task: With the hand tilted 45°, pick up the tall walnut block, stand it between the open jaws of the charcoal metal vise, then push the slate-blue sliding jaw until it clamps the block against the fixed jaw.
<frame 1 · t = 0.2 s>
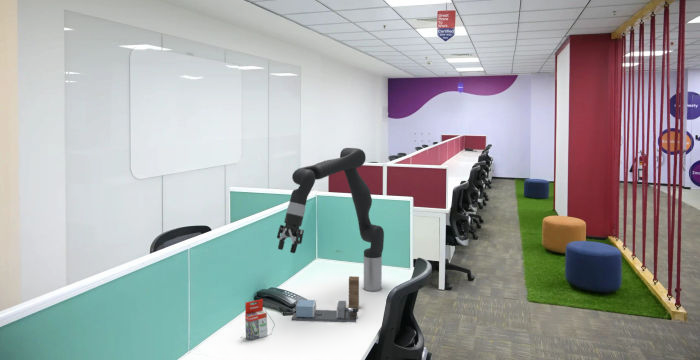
hand: (286, 251, 214), 31 cm above the table, tool tilted 20°, fingers open, 8 cm apart
ink box: (256, 337, 201), on the table
sliding jaw: (306, 308, 221), point 4 cm above the table, slide at 0.0 cm
walnut block: (353, 307, 232), on the table
vise: (325, 316, 221), on the table
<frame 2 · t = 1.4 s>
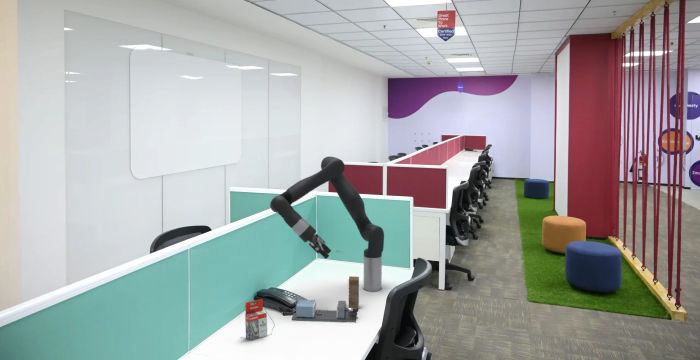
hand: (328, 254, 230), 25 cm above the table, tool tilted 45°, fingers open, 8 cm apart
nothing on the table moved.
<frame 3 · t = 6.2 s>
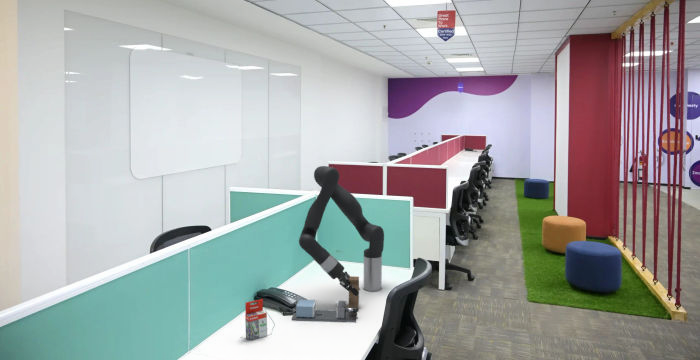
hand: (357, 292, 231), 7 cm above the table, tool tilted 45°, fingers closed on walnut block, 4 cm apart
walnut block: (353, 307, 232), on the table, touching gripper
everything else where it was.
when the fingers open (9 cm above the table, at t = 12.0 s): walnut block drops 1 cm, resting on vise.
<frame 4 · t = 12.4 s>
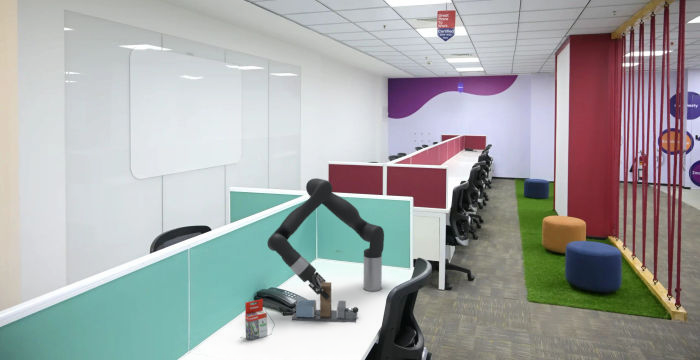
hand: (329, 294, 220), 10 cm above the table, tool tilted 45°, fingers open, 7 cm apart
walnut block: (325, 314, 221), point 1 cm above the table, touching vise
everything else where it was.
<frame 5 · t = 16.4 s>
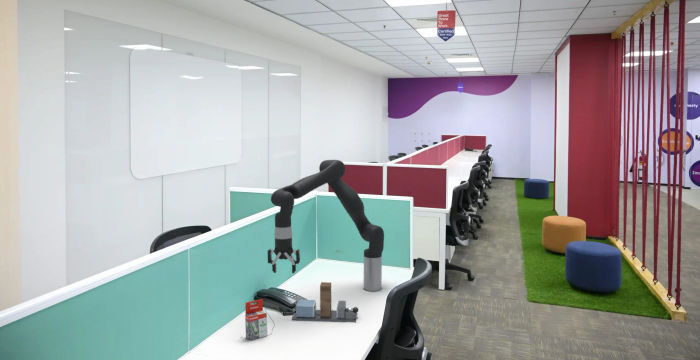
hand: (284, 272, 220), 20 cm above the table, tool pointing down, fingers open, 7 cm apart
nothing on the table moved.
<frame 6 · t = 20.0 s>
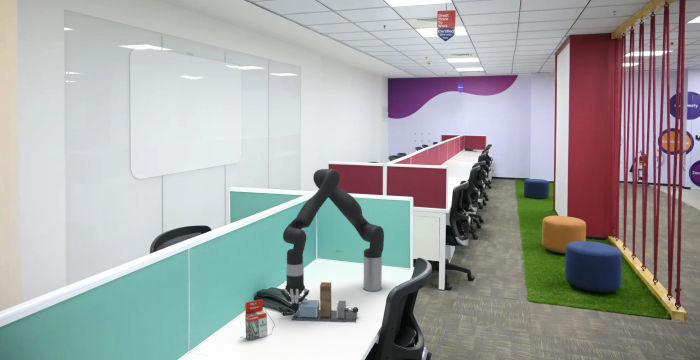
hand: (295, 310, 222), 2 cm above the table, tool pointing down, fingers closed
sliding jaw: (309, 308, 221), point 4 cm above the table, slide at 1.5 cm, touching gripper
everything else where it was.
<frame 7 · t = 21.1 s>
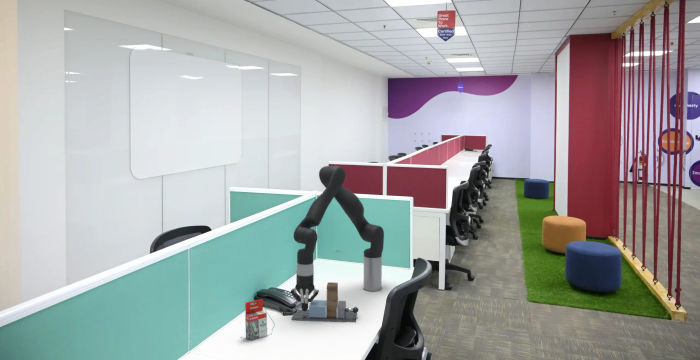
hand: (304, 310, 222), 2 cm above the table, tool pointing down, fingers closed
sliding jaw: (319, 308, 221), point 4 cm above the table, slide at 5.6 cm, touching gripper, walnut block
walnut block: (332, 314, 221), point 1 cm above the table, touching sliding jaw, vise
everything else where it was.
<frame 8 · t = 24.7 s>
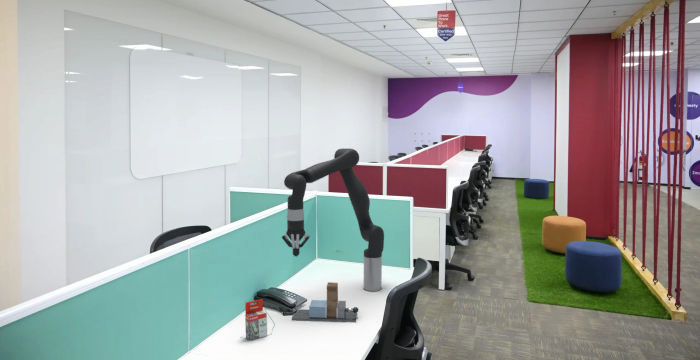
hand: (296, 255, 227), 25 cm above the table, tool pointing down, fingers closed
sliding jaw: (319, 308, 221), point 4 cm above the table, slide at 5.6 cm, touching walnut block
everything else where it was.
at the end: sliding jaw slide at 5.6 cm; walnut block 0.3 cm from the target spot on the vise, point 1.0 cm above the vise's base; walnut block tilted 0° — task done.
